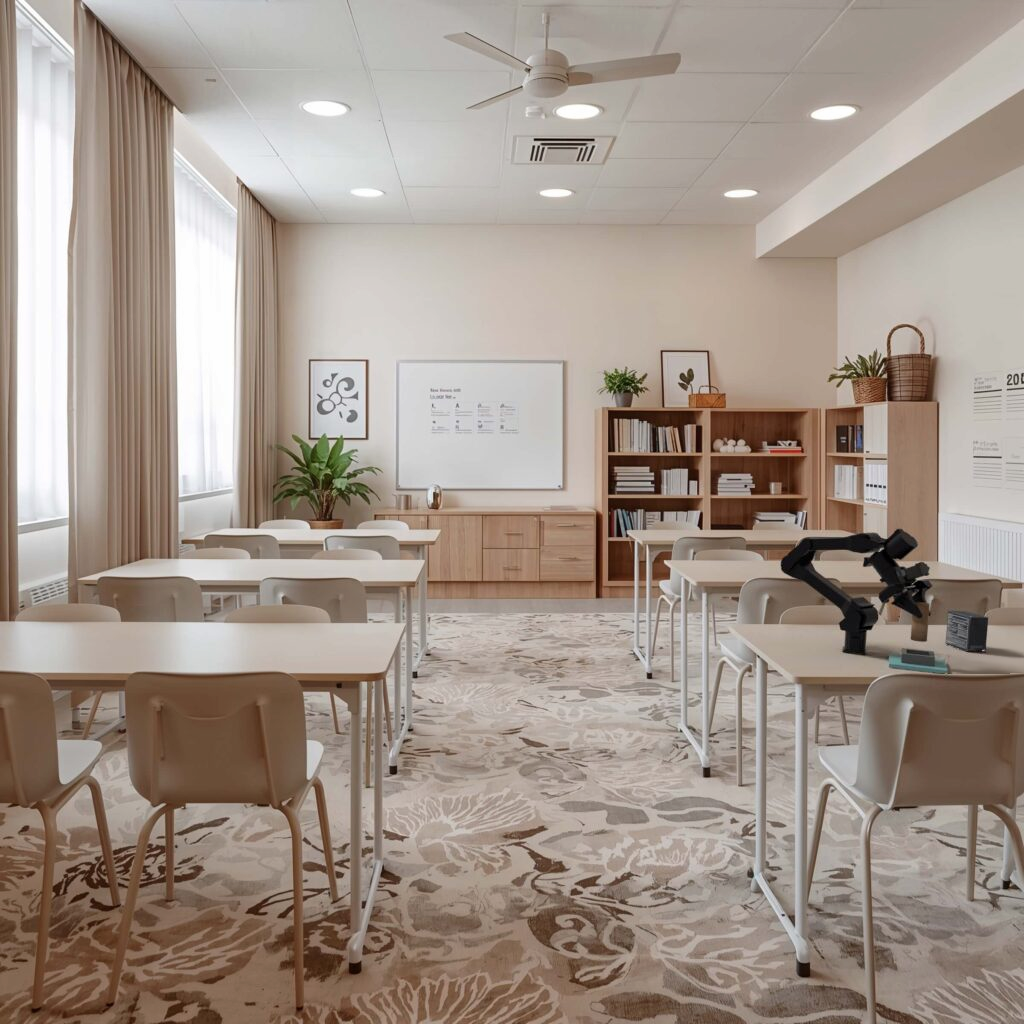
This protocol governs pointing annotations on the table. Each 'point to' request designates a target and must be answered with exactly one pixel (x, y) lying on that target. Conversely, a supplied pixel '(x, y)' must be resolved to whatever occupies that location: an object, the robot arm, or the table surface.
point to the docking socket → (917, 661)
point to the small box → (966, 630)
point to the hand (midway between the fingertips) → (925, 616)
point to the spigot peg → (920, 623)
